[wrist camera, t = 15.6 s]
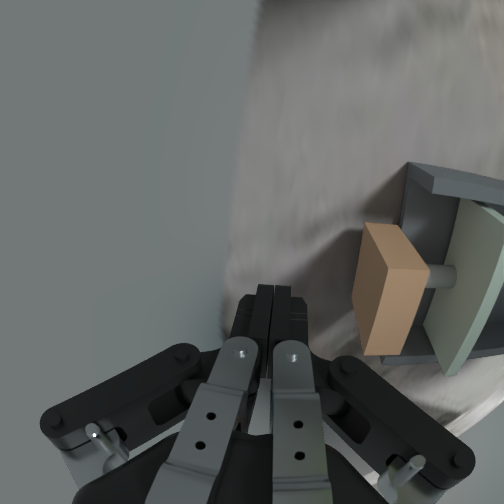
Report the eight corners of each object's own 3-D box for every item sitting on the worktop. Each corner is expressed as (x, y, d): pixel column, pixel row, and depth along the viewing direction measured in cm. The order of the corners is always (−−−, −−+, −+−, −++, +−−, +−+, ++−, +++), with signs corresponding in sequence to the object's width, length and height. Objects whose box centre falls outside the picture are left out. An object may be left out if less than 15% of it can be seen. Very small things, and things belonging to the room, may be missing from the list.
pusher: (473, 195, 14) (522, 230, 9) (434, 324, 18) (457, 376, 14) (368, 181, 15) (399, 214, 10) (344, 324, 19) (353, 383, 14)
